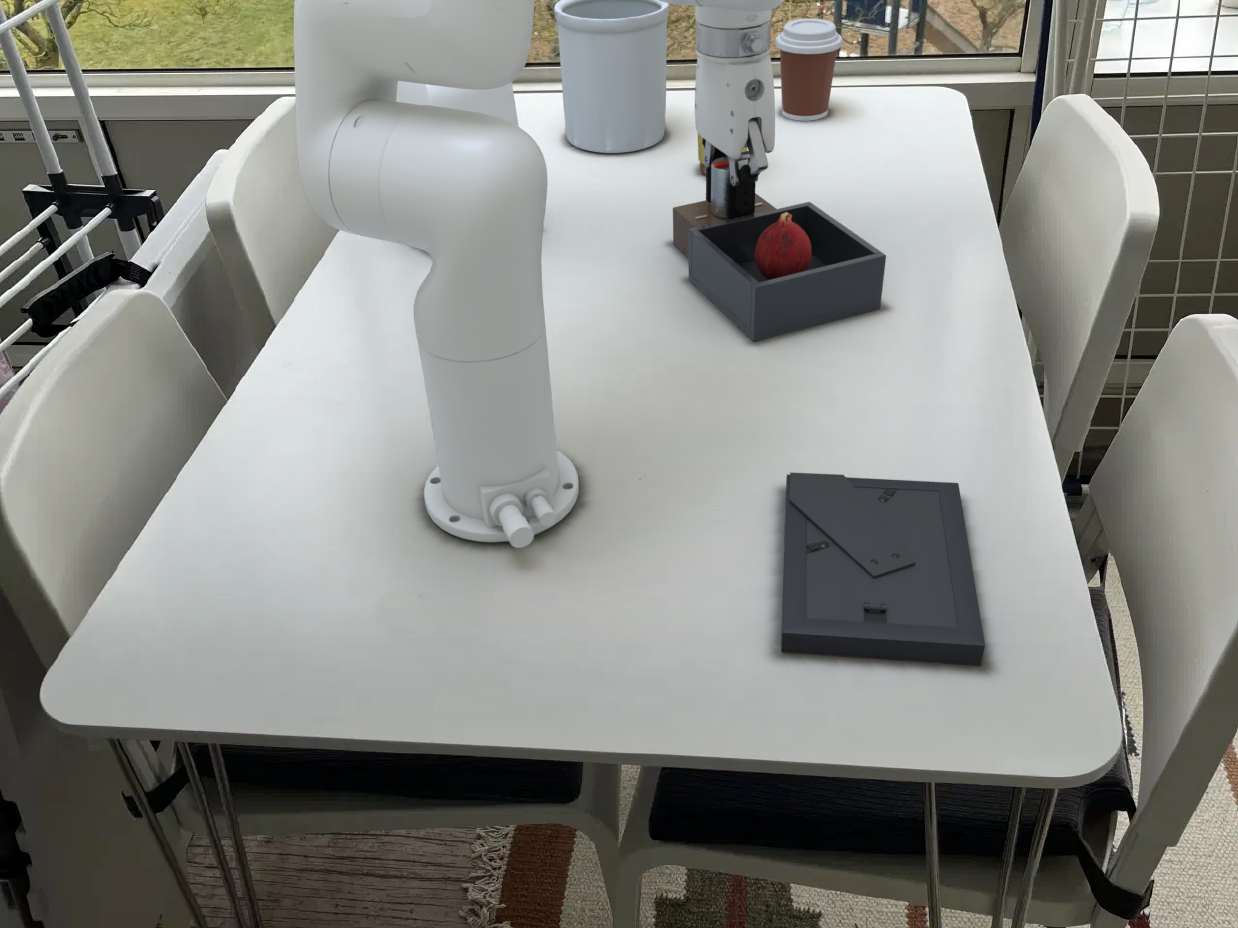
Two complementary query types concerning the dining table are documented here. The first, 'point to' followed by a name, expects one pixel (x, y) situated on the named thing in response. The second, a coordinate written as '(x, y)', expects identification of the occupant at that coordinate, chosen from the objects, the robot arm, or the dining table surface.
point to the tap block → (701, 219)
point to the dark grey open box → (768, 308)
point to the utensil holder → (613, 72)
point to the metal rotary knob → (720, 185)
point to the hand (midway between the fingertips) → (729, 206)
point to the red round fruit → (783, 249)
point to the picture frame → (878, 571)
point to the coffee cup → (807, 67)
